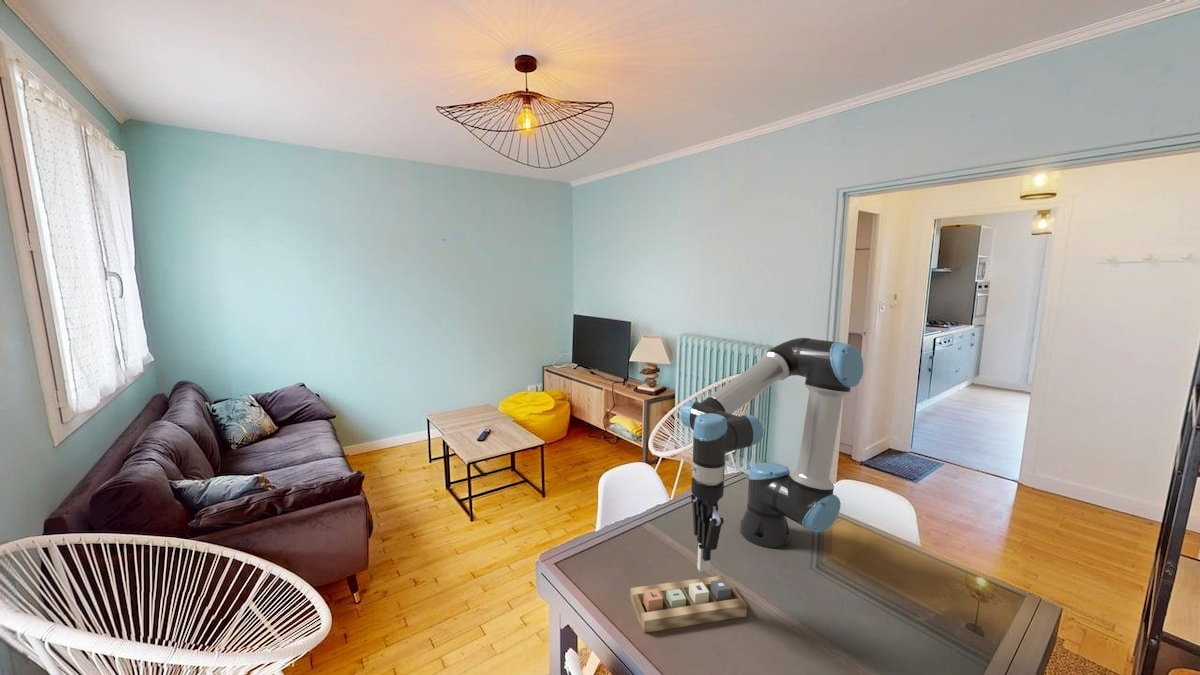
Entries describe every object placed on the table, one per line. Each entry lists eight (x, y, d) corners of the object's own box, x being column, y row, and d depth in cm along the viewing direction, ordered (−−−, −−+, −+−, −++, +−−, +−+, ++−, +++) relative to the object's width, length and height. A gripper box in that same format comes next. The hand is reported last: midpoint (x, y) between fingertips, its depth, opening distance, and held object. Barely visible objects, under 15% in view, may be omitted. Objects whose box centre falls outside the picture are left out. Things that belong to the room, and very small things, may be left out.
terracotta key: (656, 600, 109) (657, 588, 109) (662, 610, 106) (662, 598, 105) (643, 602, 108) (643, 590, 108) (648, 613, 105) (648, 600, 104)
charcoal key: (723, 590, 113) (724, 578, 113) (730, 600, 110) (731, 588, 109) (710, 592, 112) (711, 580, 112) (717, 602, 109) (718, 590, 108)
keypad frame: (723, 585, 117) (724, 575, 117) (746, 616, 107) (746, 604, 106) (629, 599, 111) (630, 588, 111) (644, 632, 101) (644, 620, 100)
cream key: (701, 593, 112) (702, 581, 111) (708, 603, 108) (709, 591, 108) (688, 595, 111) (689, 583, 111) (694, 606, 107) (695, 593, 107)
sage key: (679, 600, 110) (680, 588, 110) (685, 610, 107) (686, 598, 107) (665, 602, 110) (666, 590, 109) (671, 612, 106) (672, 600, 106)
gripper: (682, 468, 111) (679, 554, 115) (705, 493, 99) (701, 589, 102) (709, 466, 113) (705, 551, 116) (736, 490, 100) (730, 584, 104)
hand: (703, 568), depth 109 cm, fingers closed
